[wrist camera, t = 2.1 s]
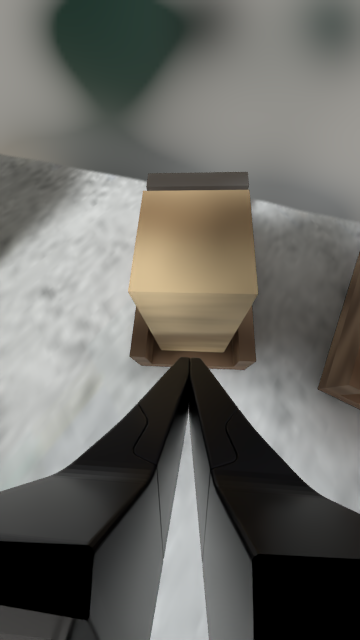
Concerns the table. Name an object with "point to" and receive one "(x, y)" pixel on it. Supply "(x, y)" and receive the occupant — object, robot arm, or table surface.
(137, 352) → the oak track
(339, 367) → the dark wooden block holder
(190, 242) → the oak slider
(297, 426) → the table surface
